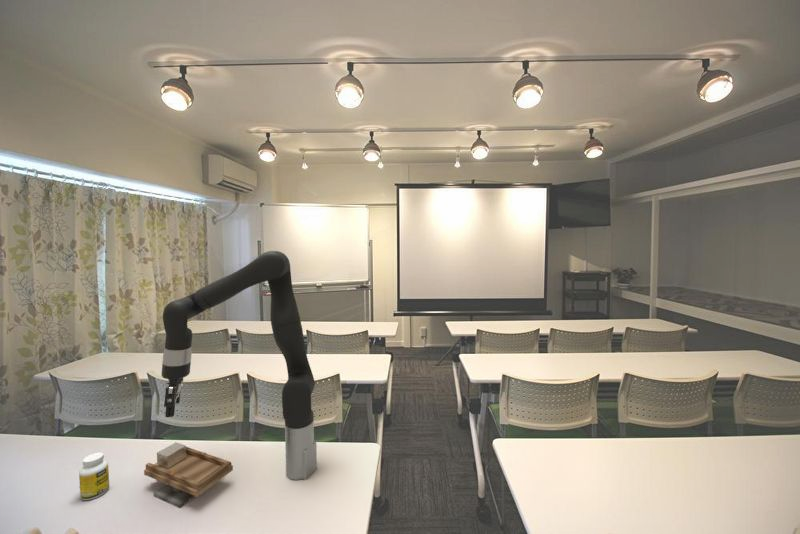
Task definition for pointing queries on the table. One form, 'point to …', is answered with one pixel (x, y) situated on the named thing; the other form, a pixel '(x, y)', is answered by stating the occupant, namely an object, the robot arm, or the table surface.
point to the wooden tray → (188, 476)
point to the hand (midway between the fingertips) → (172, 409)
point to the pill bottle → (94, 476)
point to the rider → (171, 455)
